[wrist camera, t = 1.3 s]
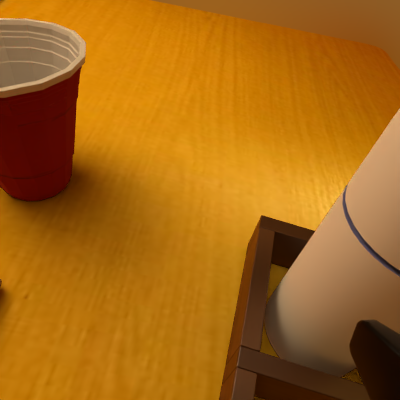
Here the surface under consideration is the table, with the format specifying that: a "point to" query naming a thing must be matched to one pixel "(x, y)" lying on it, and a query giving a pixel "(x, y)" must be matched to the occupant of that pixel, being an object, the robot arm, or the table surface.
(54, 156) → the plastic cup
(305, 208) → the table surface
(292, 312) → the cylindrical container
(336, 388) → the rectangular frame
